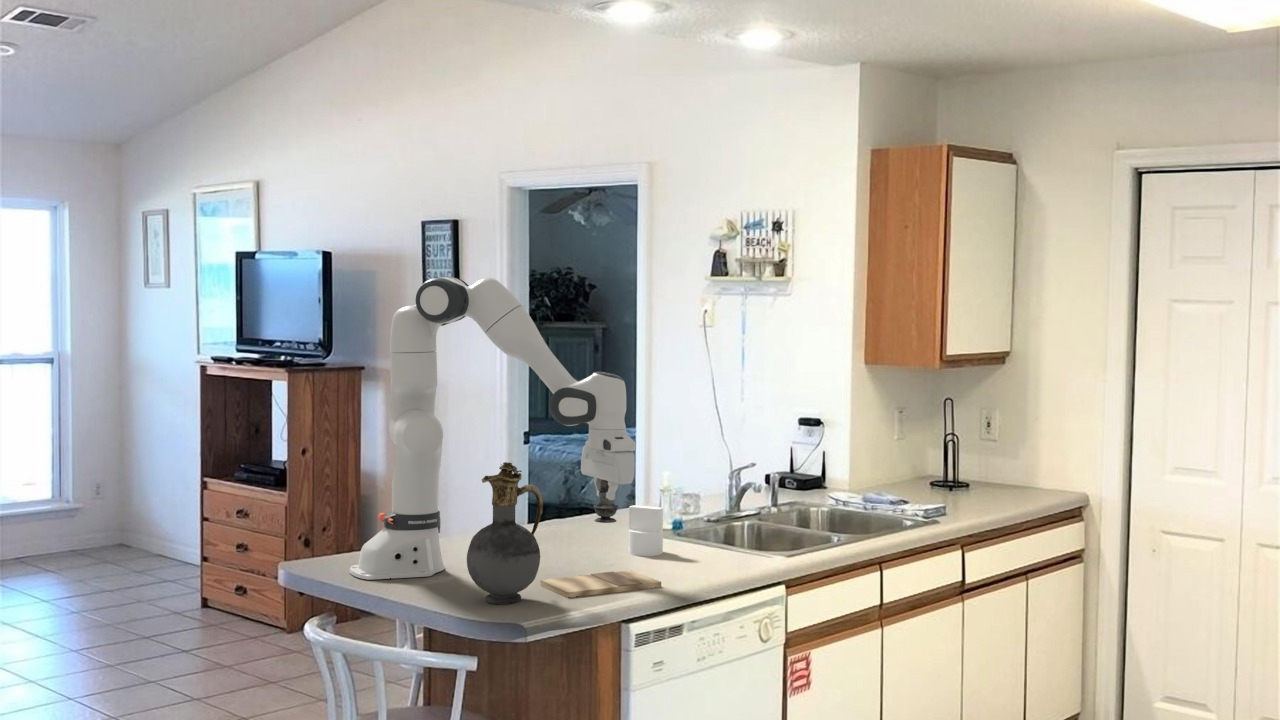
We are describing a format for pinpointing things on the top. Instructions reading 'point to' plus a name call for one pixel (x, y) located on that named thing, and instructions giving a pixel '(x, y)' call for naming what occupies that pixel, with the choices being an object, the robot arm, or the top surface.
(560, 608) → the top surface
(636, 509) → the white canister
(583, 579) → the plywood board
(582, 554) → the top surface
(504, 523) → the pitcher
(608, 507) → the salt shaker
